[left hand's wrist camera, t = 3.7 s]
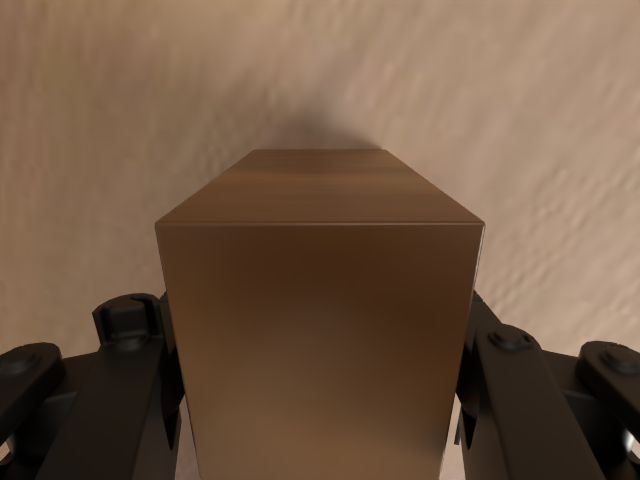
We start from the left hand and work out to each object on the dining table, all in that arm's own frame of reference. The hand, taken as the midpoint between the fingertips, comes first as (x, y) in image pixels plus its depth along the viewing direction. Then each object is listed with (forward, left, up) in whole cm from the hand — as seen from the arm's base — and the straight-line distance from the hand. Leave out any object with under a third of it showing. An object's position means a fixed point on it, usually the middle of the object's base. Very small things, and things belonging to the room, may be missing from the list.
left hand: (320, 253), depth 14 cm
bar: (+5, +5, -1) cm, 8 cm away
